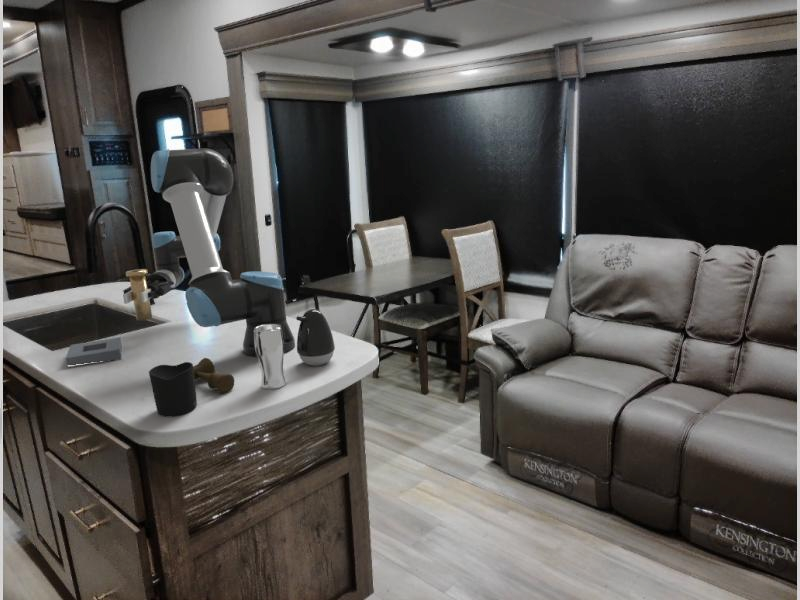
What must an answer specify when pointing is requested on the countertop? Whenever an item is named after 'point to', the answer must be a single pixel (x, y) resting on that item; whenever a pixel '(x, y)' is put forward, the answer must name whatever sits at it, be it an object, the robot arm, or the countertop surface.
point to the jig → (94, 351)
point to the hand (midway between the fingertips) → (133, 298)
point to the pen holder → (174, 388)
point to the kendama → (213, 376)
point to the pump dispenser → (314, 338)
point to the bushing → (139, 293)
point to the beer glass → (270, 355)
